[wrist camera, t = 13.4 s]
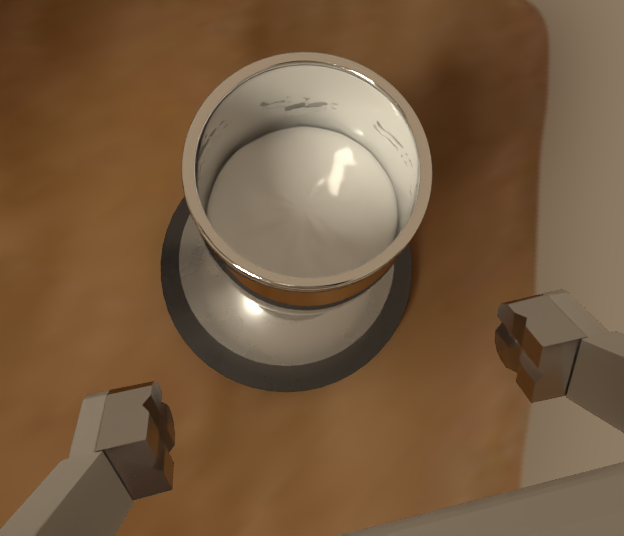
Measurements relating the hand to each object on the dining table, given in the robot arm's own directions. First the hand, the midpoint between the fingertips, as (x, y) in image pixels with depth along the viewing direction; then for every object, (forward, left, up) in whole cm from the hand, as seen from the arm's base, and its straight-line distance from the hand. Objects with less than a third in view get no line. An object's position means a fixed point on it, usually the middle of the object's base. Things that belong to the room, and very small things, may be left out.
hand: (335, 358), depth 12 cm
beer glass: (-3, +4, -16) cm, 16 cm away
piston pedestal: (-4, +4, -18) cm, 19 cm away
